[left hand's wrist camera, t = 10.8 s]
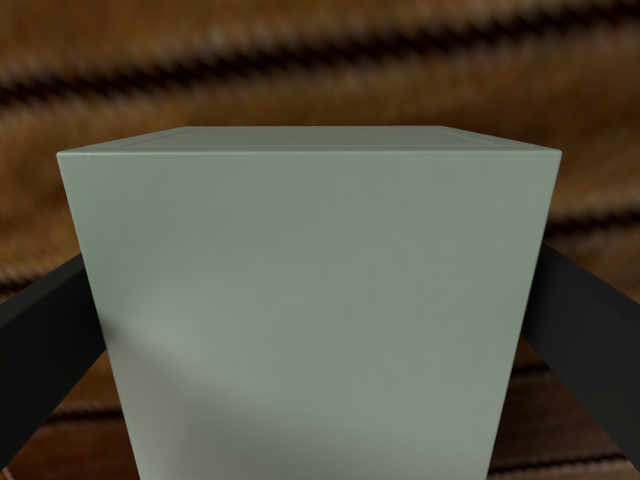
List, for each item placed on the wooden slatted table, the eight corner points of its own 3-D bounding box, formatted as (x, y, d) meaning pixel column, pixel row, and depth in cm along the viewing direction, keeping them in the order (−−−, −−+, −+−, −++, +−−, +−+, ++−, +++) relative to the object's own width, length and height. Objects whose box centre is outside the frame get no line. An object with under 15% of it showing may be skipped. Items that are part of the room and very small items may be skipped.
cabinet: (409, 413, 21) (461, 587, 14) (221, 414, 21) (168, 591, 13) (442, 125, 15) (565, 150, 8) (183, 126, 15) (53, 152, 8)
